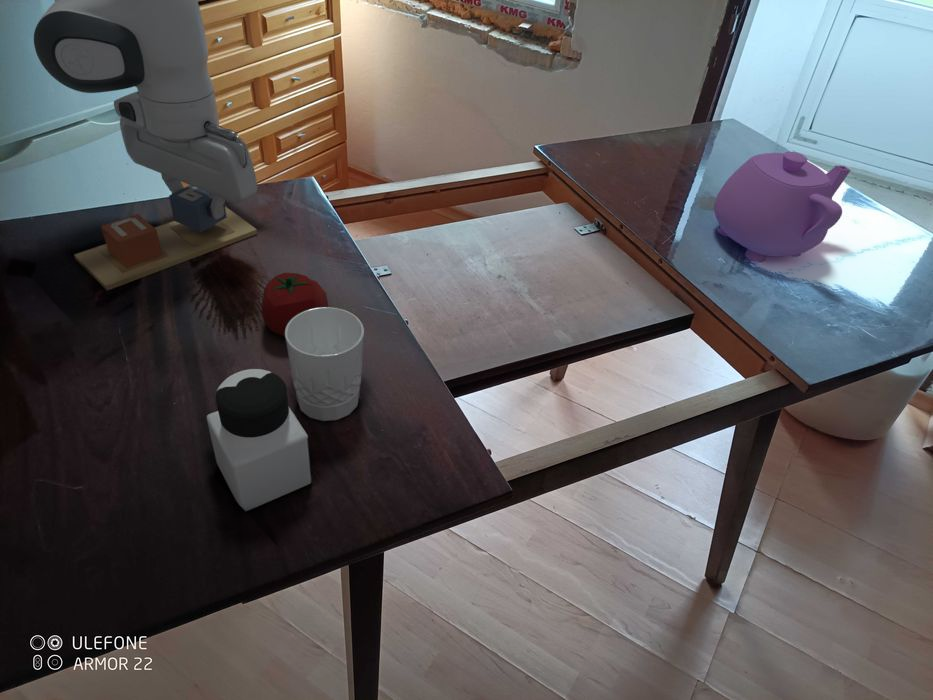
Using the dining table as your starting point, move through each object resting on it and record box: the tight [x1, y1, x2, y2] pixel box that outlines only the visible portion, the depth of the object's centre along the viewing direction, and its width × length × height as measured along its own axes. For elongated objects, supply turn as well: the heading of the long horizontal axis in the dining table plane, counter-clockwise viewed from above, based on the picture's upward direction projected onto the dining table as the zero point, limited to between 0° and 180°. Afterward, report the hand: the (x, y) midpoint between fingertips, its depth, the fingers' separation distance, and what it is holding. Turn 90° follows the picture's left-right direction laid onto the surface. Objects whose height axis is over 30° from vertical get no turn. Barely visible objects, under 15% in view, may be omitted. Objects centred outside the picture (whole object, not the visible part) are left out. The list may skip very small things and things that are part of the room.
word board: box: [73, 206, 258, 291], centre depth 95 cm, size 9×22×1 cm, turn 136°
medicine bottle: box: [206, 368, 313, 512], centre depth 64 cm, size 7×7×12 cm
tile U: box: [100, 213, 162, 268], centre depth 91 cm, size 5×5×4 cm
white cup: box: [284, 306, 365, 422], centre depth 73 cm, size 8×8×10 cm
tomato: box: [261, 272, 329, 338], centre depth 83 cm, size 8×8×7 cm
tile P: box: [168, 184, 227, 232], centre depth 95 cm, size 5×5×4 cm
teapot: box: [713, 151, 852, 263], centre depth 106 cm, size 20×20×15 cm
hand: (198, 209), depth 96 cm, fingers closed on tile P, 5 cm apart
